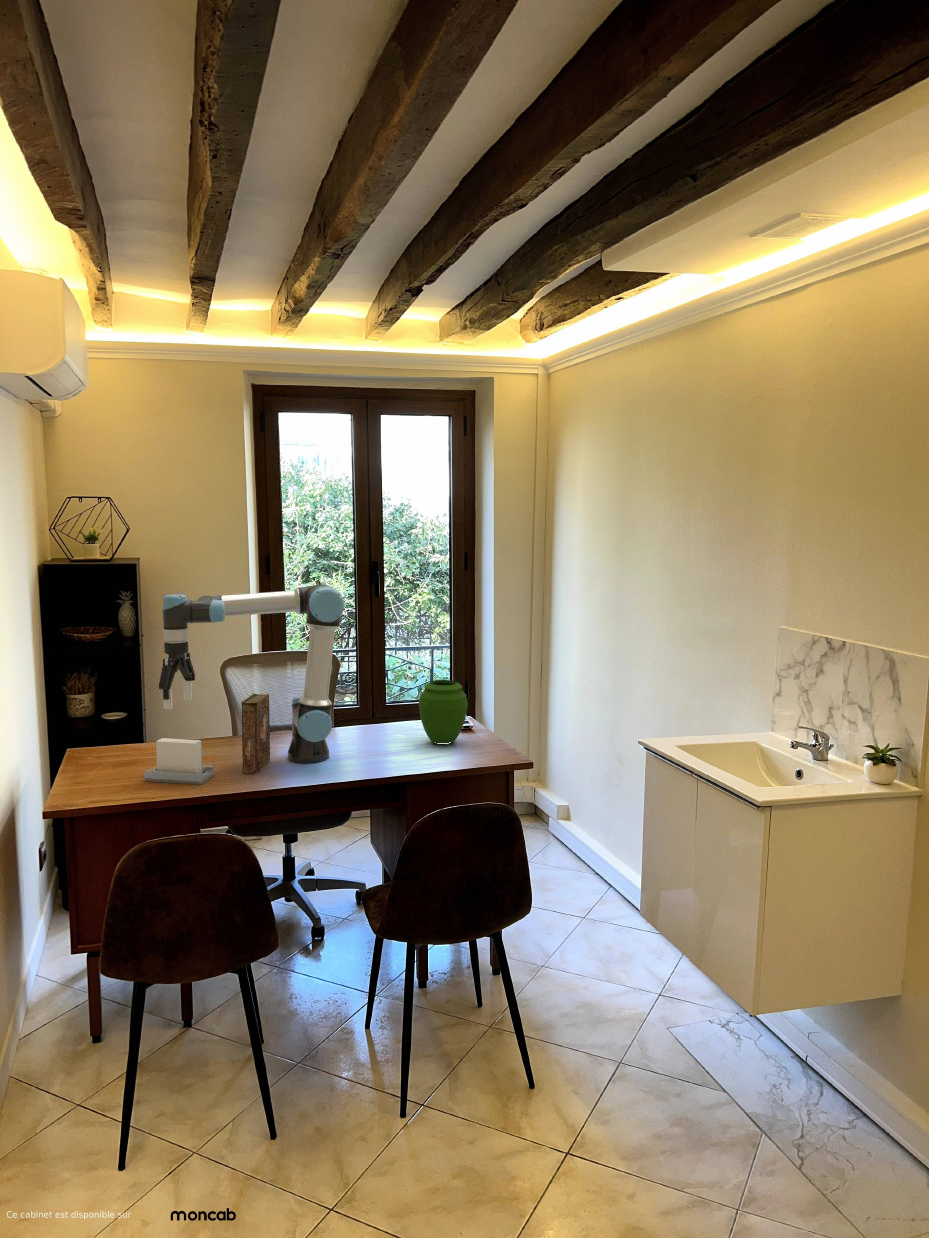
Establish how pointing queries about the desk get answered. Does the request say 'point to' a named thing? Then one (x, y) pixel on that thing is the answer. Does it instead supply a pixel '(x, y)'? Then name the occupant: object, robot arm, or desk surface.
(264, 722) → the book
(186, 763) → the door
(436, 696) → the vase
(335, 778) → the desk surface
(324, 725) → the robot arm
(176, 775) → the track
